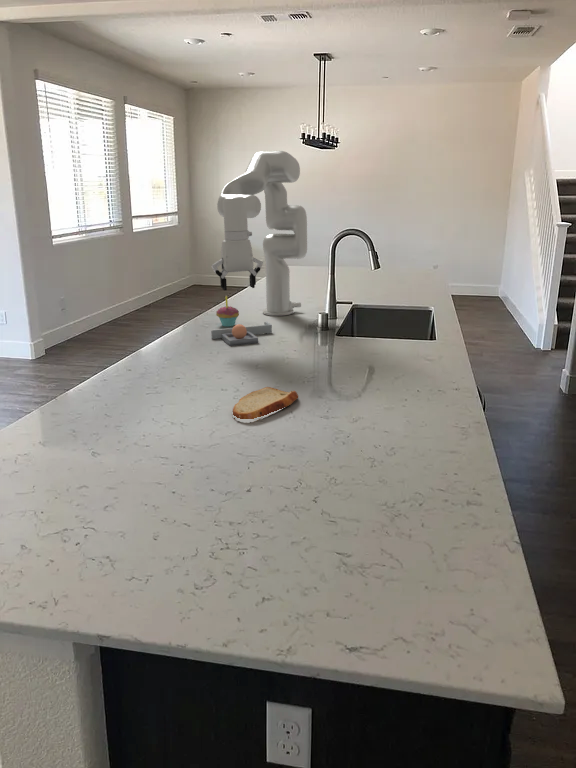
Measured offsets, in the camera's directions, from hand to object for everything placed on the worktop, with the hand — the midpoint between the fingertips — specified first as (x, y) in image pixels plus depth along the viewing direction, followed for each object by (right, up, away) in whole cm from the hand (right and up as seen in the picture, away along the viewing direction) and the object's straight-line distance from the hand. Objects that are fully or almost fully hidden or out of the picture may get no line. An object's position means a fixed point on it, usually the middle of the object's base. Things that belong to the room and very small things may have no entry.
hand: (238, 288), depth 213 cm
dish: (0, -17, +5) cm, 18 cm away
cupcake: (-6, -10, +28) cm, 31 cm away
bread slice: (+11, -38, -57) cm, 69 cm away
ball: (0, -16, +5) cm, 17 cm away
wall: (-1, -14, +15) cm, 20 cm away
